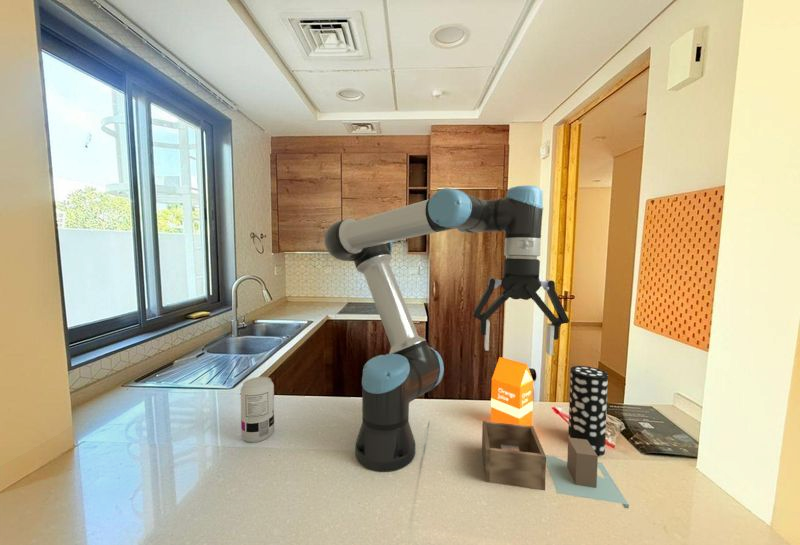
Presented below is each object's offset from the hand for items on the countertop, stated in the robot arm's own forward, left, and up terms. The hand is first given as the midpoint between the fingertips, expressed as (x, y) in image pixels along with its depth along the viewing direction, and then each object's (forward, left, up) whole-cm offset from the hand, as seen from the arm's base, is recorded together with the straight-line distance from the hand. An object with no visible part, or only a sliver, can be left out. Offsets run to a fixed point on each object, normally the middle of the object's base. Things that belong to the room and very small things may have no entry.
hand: (517, 351), depth 71 cm
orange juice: (+2, +19, -28) cm, 34 cm away
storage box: (-1, 0, -28) cm, 28 cm away
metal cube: (-1, 0, -27) cm, 27 cm away
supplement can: (-67, +1, -28) cm, 73 cm away
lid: (+14, 0, -29) cm, 32 cm away
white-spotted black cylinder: (+20, +14, -28) cm, 37 cm away
